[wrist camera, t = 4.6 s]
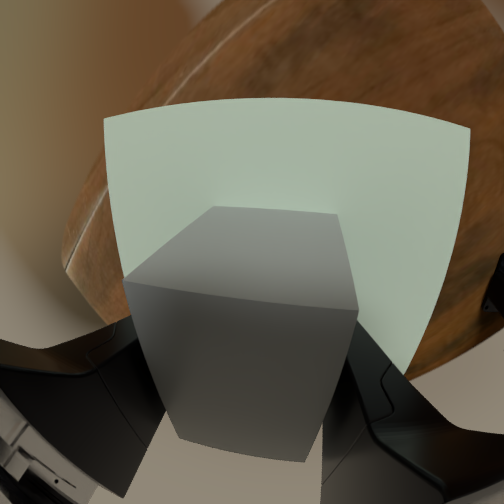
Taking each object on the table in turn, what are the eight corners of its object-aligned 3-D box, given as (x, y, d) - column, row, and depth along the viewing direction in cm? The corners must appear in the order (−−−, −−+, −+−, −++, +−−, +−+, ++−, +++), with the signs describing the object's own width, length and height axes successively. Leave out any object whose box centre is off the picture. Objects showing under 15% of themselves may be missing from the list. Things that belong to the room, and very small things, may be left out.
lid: (445, 128, 8) (579, 145, 1) (383, 376, 13) (393, 486, 7) (132, 117, 10) (-7, 134, 4) (166, 348, 16) (110, 436, 9)
